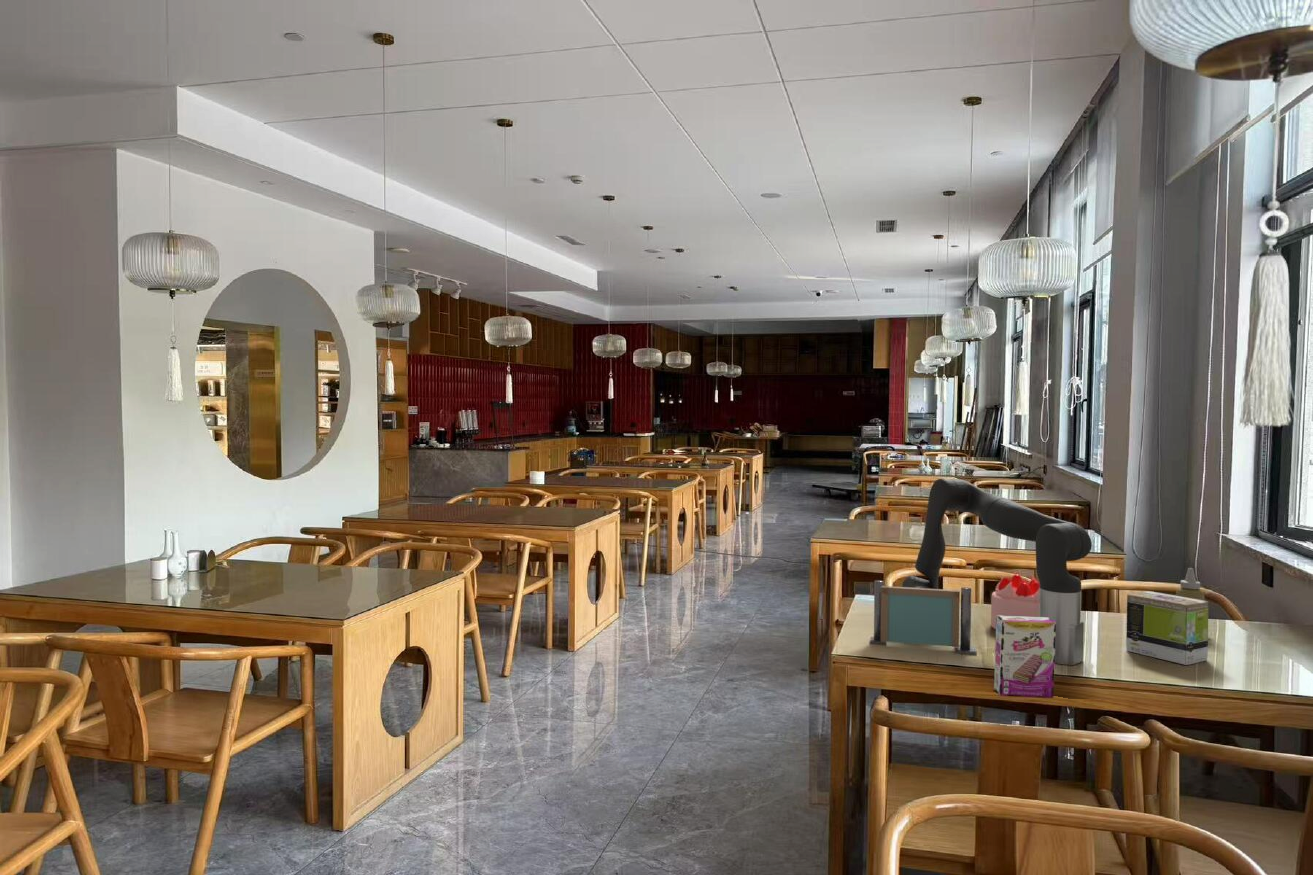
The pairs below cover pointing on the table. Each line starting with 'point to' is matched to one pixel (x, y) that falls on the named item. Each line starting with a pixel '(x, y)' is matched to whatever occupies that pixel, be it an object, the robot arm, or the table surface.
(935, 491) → the robot arm
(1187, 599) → the tea box
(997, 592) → the cake
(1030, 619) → the candy bar box
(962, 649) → the gate posts
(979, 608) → the table surface
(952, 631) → the gate leaf
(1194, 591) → the squeeze bottle
